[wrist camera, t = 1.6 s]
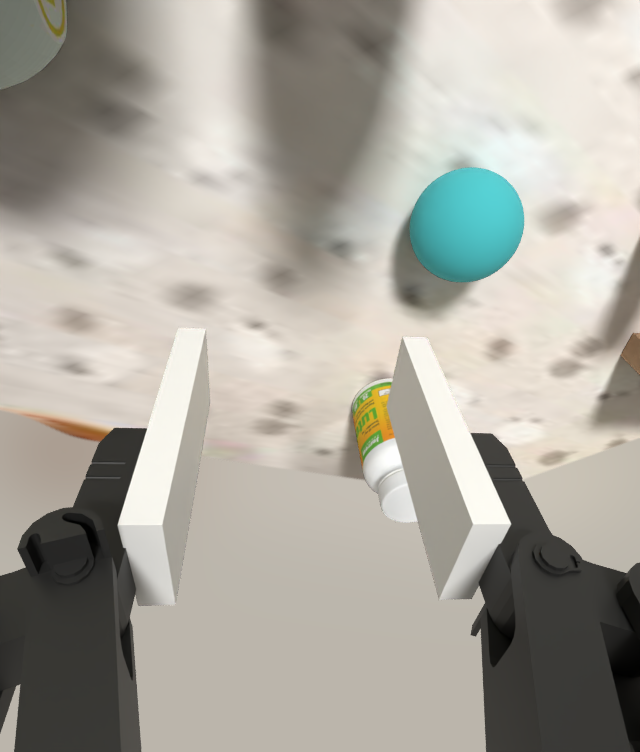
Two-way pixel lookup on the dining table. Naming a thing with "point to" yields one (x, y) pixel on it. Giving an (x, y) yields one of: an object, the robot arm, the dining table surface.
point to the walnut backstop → (633, 352)
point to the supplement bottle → (381, 451)
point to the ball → (466, 224)
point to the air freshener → (29, 37)
